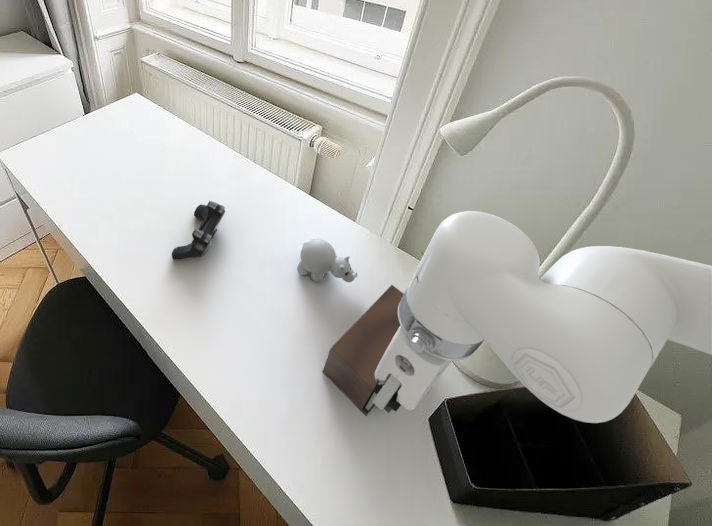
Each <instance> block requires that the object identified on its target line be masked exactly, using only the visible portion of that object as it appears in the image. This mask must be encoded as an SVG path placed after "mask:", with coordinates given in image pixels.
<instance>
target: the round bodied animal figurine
mask: <svg viewBox="0 0 712 526" xmlns="http://www.w3.org/2000/svg"><path fill="white" fill-rule="evenodd" d="M349 259H350V256H346V257H342V256H337V253H336V251H335V249H334V247H333V245H331V243H330V242H328V241H327V240H325V239H322V238H313V239H310V240H308V241H307V242H306V241H305V242H304V243H303V244H302V247H301V250H300V262H298V264H297V267H296V268H297V272H298V274H300V275H302V276H306V275H308V274H309V273H310V278H311V280H312V281H313V282H317V283H319V282H322V281H323V279H324V277H325V274H327V273H329V272H330V273H331V275H332V276H333V277H335V278H337V279H341V280H343V281H344V282H346V283H352V282H353V281H355V279H356V278H357V277H358V272H355V271H354V270H353V269H352V267H351V263H350V261H349Z"/></svg>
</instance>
